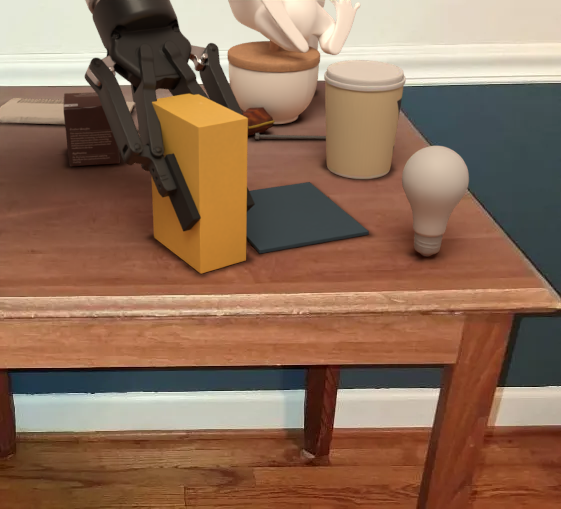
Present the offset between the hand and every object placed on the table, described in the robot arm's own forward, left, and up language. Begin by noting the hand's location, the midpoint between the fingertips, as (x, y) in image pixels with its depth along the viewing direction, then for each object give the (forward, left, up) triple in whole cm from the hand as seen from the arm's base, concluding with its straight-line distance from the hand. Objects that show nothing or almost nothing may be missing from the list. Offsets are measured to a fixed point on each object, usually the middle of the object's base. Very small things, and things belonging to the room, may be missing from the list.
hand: (219, 217), depth 77 cm
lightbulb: (+19, -5, -5) cm, 21 cm away
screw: (+21, +29, -4) cm, 36 cm away
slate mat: (+10, +8, -5) cm, 14 cm away
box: (-5, +32, -5) cm, 32 cm away
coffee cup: (+24, +18, -5) cm, 30 cm away
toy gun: (+16, +38, -3) cm, 42 cm away
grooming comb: (-3, +54, -3) cm, 54 cm away
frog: (+23, +39, +2) cm, 45 cm away
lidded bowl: (+22, +39, -5) cm, 45 cm away
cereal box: (-1, +4, -5) cm, 6 cm away
